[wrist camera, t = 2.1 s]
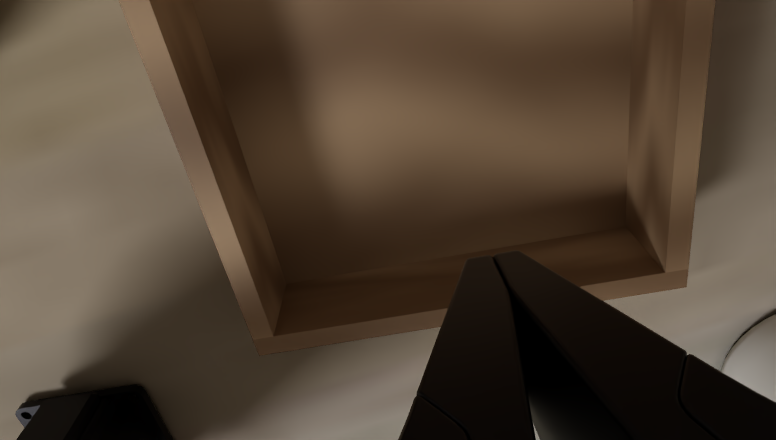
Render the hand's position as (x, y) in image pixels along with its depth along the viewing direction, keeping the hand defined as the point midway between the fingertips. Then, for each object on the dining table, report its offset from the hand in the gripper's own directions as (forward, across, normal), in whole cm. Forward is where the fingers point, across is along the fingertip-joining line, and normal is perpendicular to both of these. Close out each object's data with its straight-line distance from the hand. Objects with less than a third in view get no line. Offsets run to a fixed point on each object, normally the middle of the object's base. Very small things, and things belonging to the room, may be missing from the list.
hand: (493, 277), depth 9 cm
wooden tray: (+12, 0, -1) cm, 13 cm away
